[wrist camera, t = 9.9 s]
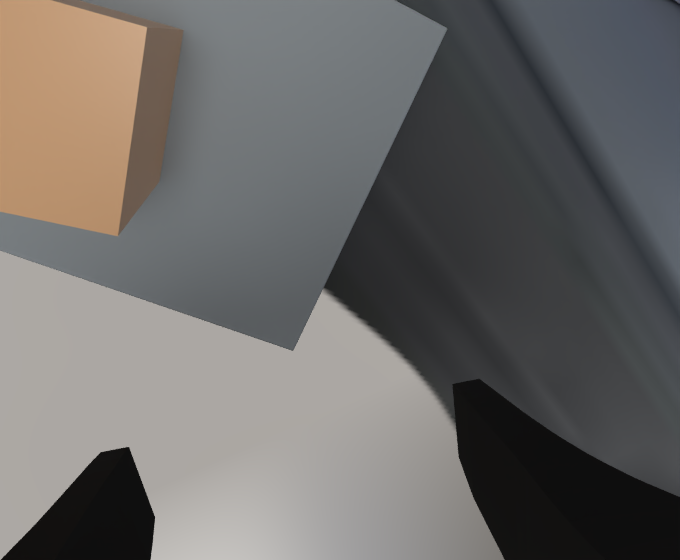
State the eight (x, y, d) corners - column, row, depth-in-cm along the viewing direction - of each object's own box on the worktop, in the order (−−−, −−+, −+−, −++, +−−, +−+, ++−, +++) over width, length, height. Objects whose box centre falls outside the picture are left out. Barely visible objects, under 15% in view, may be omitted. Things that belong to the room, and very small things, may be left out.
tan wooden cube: (183, 29, 17) (147, 27, 12) (159, 181, 18) (117, 236, 13) (14, -19, 16) (-104, -44, 11) (3, 145, 18) (-104, 189, 13)
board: (438, 28, 19) (480, 27, 15) (292, 337, 22) (296, 397, 19) (-204, -314, 14) (-372, -437, 10) (-254, 147, 18) (-391, 176, 14)
